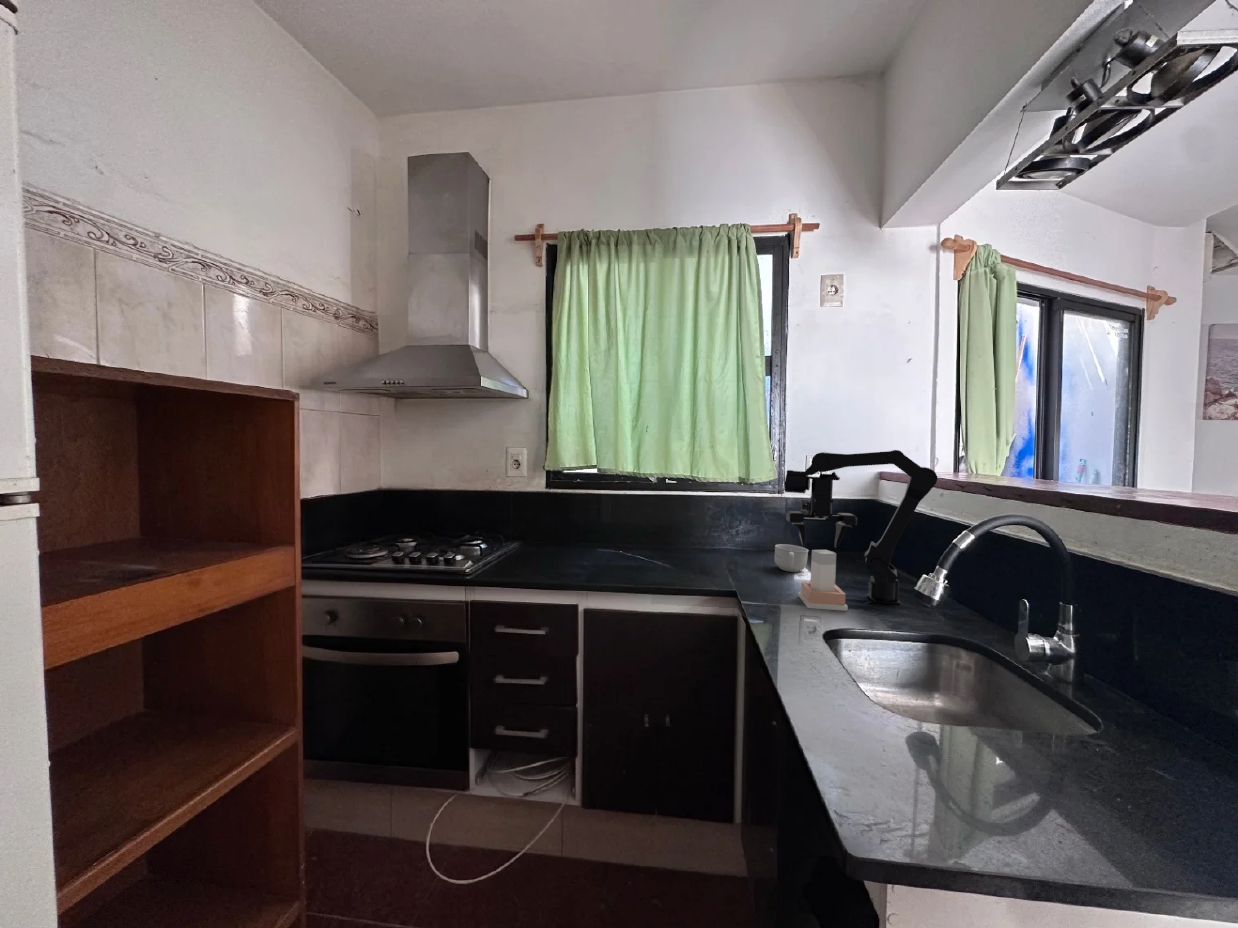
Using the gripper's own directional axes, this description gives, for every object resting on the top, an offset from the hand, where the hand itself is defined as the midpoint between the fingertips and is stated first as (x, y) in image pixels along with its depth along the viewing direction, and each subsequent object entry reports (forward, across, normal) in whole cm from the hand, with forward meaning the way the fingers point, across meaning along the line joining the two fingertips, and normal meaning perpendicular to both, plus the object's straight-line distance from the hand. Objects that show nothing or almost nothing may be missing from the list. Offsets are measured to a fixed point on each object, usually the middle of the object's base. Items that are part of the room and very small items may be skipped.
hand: (819, 546), depth 138 cm
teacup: (+13, +4, -20) cm, 24 cm away
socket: (+13, +2, +12) cm, 18 cm away
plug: (+12, +2, +12) cm, 17 cm away
